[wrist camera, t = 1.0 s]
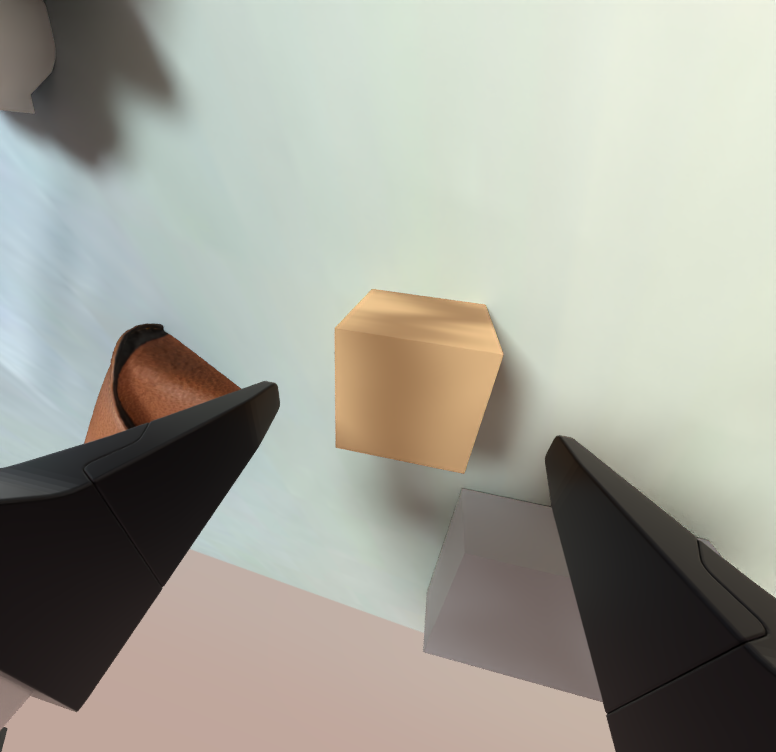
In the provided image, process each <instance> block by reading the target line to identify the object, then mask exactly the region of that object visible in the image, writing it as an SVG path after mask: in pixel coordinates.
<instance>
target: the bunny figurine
mask: <svg viewBox="0 0 776 752" xmlns="http://www.w3.org/2000/svg"><path fill="white" fill-rule="evenodd" d="M55 59H56V53H55V42H54V38H53V33H52V29H51V25H50V20H49V16H48V12H47V8H46V5H45V3H44V2H43V0H0V110H3V111H12V112H22V113H31V114H35V111H34V107H33V102H32V98H31V94H32V93H33V92H34V91H35V90H36V88H37V87H38V86H39V85H40V84H41V83H42V82H43V81H44V80H45V79H46V78H47V77H48V76H49V75H50V74H51V73H52V70H53V66H54V63H55Z"/></svg>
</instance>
